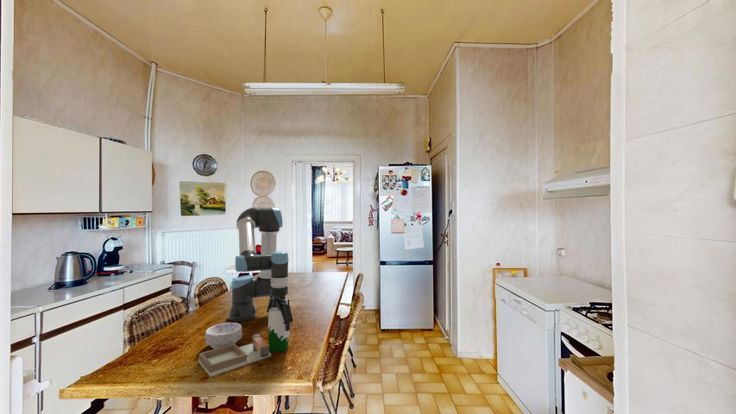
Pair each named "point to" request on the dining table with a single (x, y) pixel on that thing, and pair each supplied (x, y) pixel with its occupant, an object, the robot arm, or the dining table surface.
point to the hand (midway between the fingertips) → (278, 333)
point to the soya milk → (276, 331)
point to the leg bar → (260, 345)
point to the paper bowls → (223, 334)
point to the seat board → (228, 358)
